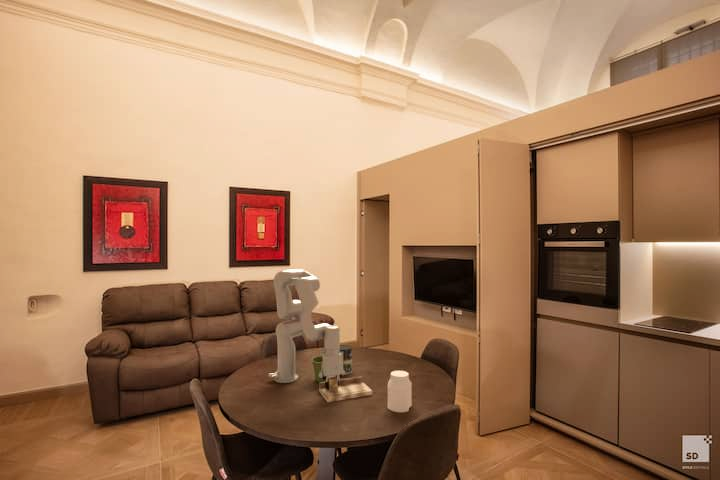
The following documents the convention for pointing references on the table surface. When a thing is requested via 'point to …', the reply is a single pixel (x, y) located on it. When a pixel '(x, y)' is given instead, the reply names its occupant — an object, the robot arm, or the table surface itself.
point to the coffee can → (346, 358)
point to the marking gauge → (333, 384)
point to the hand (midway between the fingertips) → (332, 388)
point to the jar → (399, 392)
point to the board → (346, 389)
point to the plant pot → (317, 367)
